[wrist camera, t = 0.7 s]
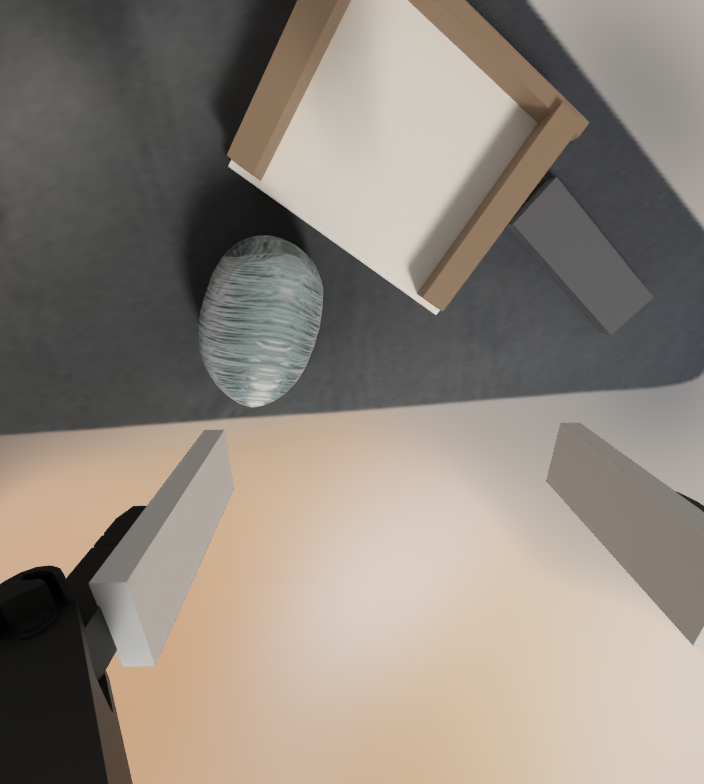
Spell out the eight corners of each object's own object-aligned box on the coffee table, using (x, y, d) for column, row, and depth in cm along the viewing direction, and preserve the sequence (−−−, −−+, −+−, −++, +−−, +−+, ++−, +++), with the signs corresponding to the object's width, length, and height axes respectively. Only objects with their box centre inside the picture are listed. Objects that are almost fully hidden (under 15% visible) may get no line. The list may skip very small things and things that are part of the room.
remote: (596, 330, 34) (611, 335, 32) (502, 226, 30) (513, 224, 28) (635, 295, 33) (653, 297, 31) (543, 182, 29) (556, 176, 27)
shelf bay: (236, 172, 28) (216, 157, 24) (345, -59, 23) (344, -128, 19) (431, 311, 32) (443, 320, 28) (556, 140, 28) (594, 119, 23)
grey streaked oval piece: (212, 196, 26) (227, 253, 19) (326, 238, 31) (368, 293, 24) (183, 345, 33) (187, 422, 27) (279, 358, 38) (302, 426, 32)
